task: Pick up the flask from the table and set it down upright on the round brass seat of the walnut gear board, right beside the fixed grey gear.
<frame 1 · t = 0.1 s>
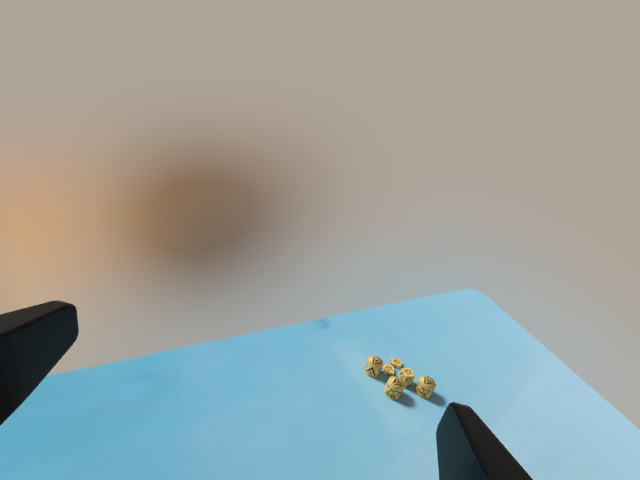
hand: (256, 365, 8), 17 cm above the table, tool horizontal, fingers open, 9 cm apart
dice set: (392, 387, 31), on the table
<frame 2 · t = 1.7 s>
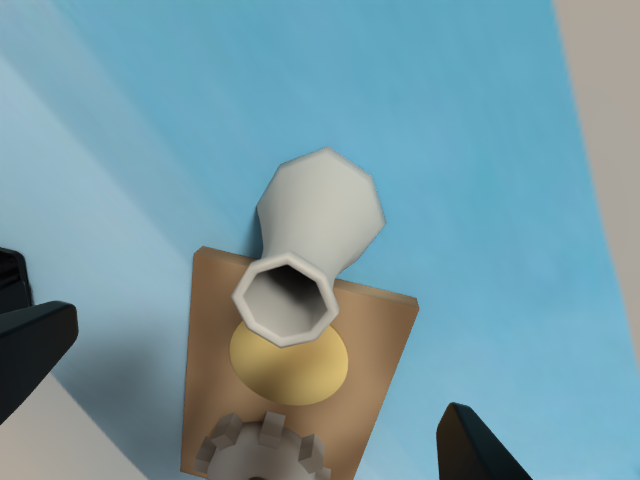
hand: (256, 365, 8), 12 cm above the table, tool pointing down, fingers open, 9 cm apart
flask: (321, 211, 19), on the table
gear board: (282, 391, 25), on the table
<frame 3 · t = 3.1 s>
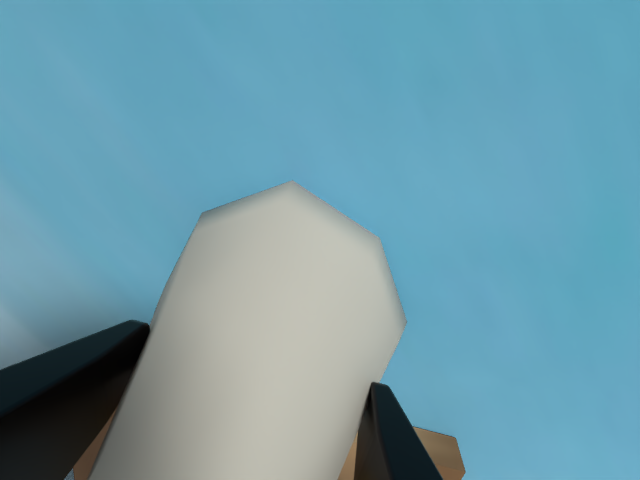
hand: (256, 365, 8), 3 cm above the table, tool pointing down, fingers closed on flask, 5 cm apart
flask: (286, 294, 11), on the table, touching gripper
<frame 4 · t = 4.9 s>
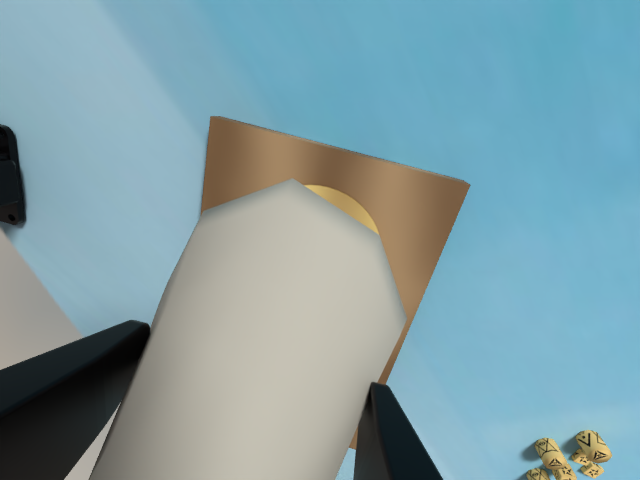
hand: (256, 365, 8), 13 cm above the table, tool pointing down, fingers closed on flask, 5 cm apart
dice set: (556, 444, 24), on the table
flask: (287, 291, 11), point 9 cm above the table, touching gripper
gear board: (300, 303, 22), on the table
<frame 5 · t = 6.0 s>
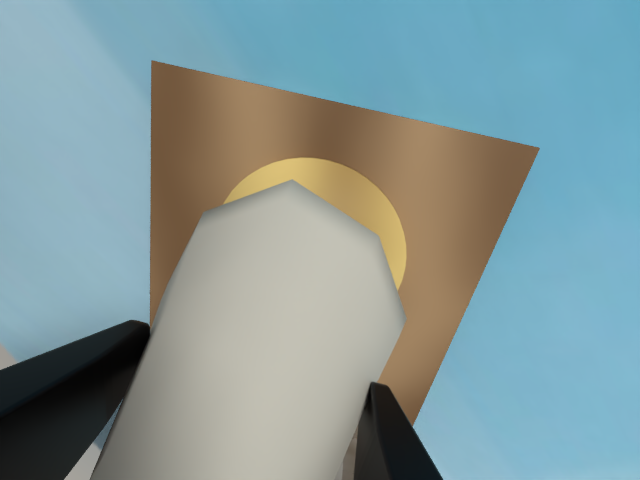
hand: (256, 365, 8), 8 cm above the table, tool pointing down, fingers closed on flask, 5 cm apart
flask: (287, 292, 11), point 4 cm above the table, touching gripper
gear board: (295, 323, 16), on the table
when the fingers open (5 cm above the table, at t = 6.9 s): flask stays where it is, resting on gear board.
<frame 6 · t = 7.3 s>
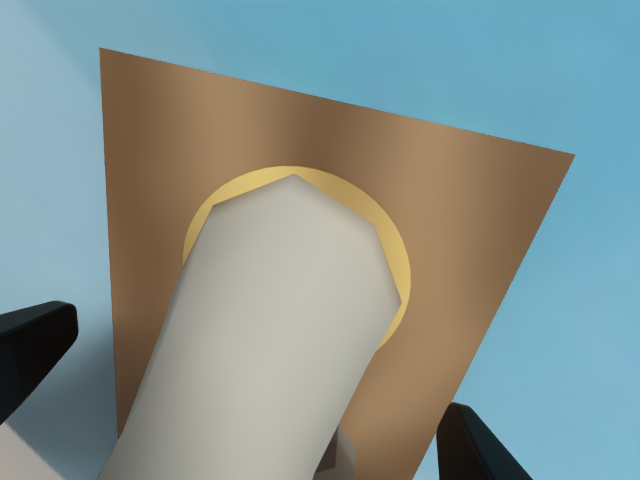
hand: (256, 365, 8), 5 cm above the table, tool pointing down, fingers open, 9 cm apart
flask: (291, 279, 11), point 1 cm above the table, touching gear board
gear board: (281, 353, 14), on the table
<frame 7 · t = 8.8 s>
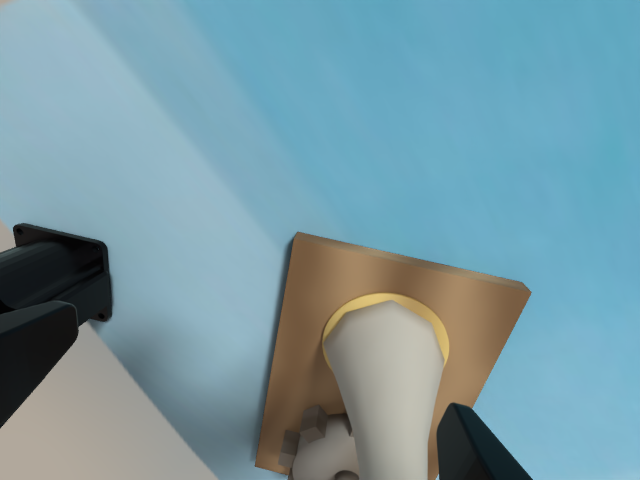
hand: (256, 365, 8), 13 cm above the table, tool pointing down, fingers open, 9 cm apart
flask: (382, 346, 21), point 1 cm above the table, touching gear board
gear board: (366, 382, 24), on the table
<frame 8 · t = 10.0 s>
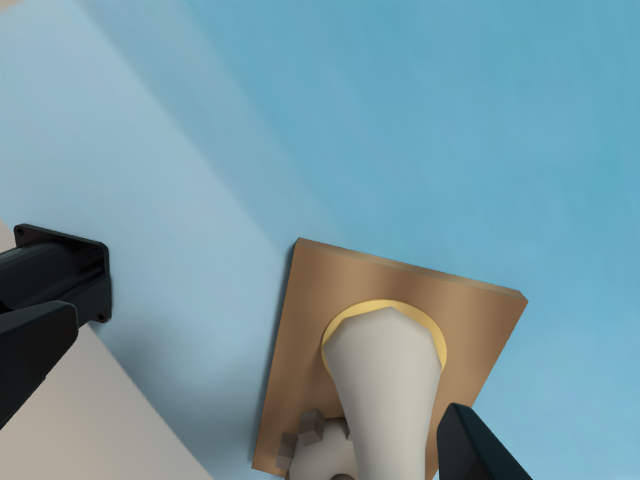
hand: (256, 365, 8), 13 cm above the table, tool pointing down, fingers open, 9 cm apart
flask: (380, 351, 21), point 1 cm above the table, touching gear board
gear board: (364, 386, 24), on the table
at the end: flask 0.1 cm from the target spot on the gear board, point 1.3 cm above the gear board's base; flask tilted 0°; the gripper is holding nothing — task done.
